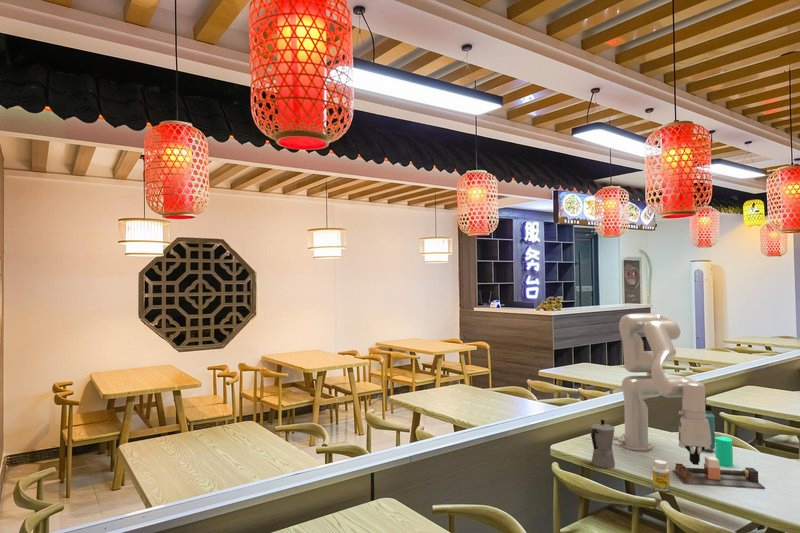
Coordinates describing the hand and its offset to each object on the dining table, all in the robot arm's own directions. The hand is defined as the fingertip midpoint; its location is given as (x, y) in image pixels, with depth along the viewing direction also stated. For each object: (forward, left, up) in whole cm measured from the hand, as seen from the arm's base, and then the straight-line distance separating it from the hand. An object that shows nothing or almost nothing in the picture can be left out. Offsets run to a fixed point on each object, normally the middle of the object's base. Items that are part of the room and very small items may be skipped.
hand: (694, 463), depth 193 cm
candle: (+17, +18, -6) cm, 26 cm away
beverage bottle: (+17, +35, -6) cm, 40 cm away
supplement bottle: (-16, -12, -6) cm, 20 cm away
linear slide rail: (+7, 0, -6) cm, 9 cm away
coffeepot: (-32, +9, -6) cm, 33 cm away
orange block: (+6, 0, -5) cm, 8 cm away
